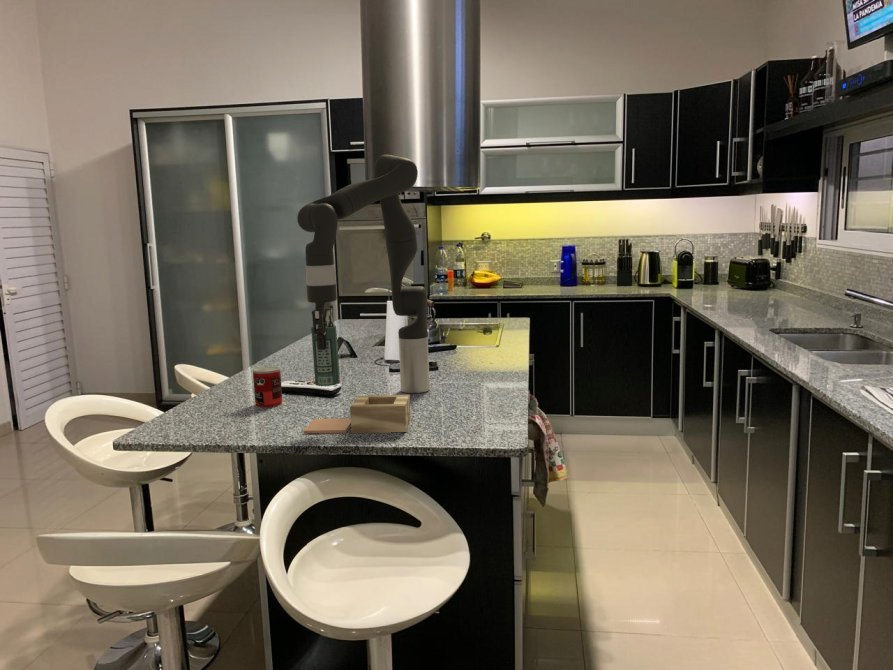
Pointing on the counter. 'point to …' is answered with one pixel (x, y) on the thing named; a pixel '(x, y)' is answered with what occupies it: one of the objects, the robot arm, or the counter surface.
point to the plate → (328, 426)
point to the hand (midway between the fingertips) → (325, 347)
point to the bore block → (380, 414)
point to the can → (326, 359)
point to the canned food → (267, 386)
